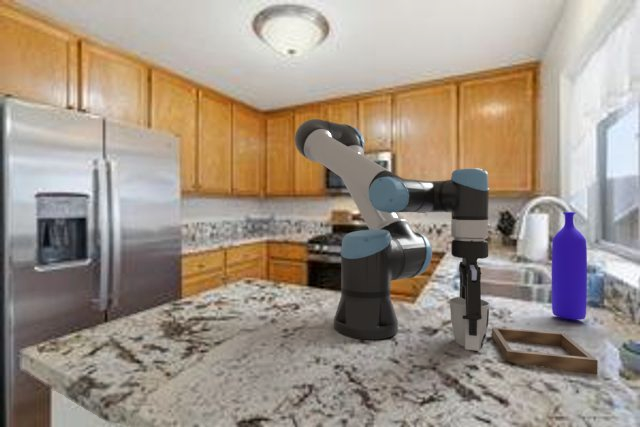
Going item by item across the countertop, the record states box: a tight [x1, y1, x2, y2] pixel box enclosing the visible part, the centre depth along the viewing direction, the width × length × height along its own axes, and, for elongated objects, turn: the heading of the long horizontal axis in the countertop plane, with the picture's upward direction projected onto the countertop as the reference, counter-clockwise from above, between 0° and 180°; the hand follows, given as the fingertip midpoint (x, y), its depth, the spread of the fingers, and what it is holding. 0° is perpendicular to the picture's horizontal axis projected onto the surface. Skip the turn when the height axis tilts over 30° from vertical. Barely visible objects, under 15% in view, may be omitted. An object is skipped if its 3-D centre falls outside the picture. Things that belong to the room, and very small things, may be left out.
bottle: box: [551, 211, 588, 321], centre depth 101 cm, size 8×8×30 cm
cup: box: [449, 296, 491, 349], centre depth 77 cm, size 8×8×10 cm
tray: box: [491, 326, 598, 375], centre depth 74 cm, size 15×15×2 cm
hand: (469, 342), depth 77 cm, fingers closed on cup, 7 cm apart
